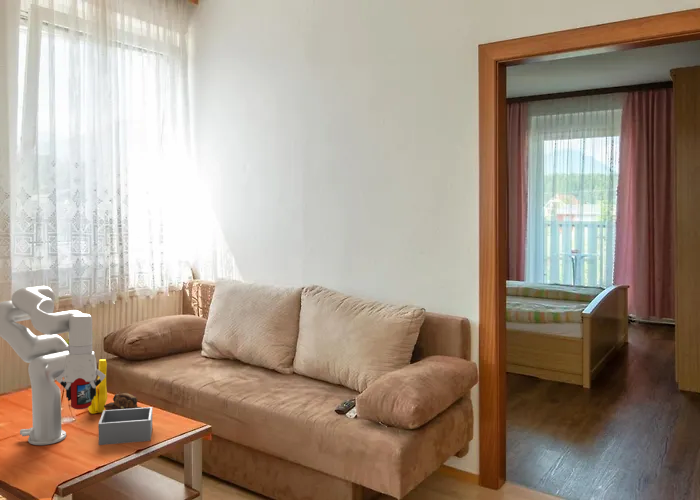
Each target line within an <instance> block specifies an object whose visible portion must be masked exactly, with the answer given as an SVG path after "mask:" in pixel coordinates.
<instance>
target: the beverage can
mask: <svg viewBox="0 0 700 500" xmlns="http://www.w3.org/2000/svg"><path fill="white" fill-rule="evenodd" d="M70 386H71V400H70V407H71V408H72V409H74V410H80V411H81V410H86V409H88V407H89V406H91V404H92V399H91V388H92V386H91V384H90V382H86V381H85V380H84V379H82V378H78V379H76V380H75V381H74V382H73V383H71V385H70Z"/></svg>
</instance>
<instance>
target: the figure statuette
mask: <svg viewBox="0 0 700 500" xmlns="http://www.w3.org/2000/svg"><path fill="white" fill-rule="evenodd" d="M107 366H108V362H107V360H106V358H105V359H99V360H98V368H97V369H98V370H99V371H101V372H102V373H103V374H105V375H106V376H105V378H104V379H103V380H102V381H101V383H100V384H99V385H97V386H96V396H94V398H93V399H92V404H91V406H89V407H88V408H87V409H88V412H89V413H90V414H98V413H101V414H102V413H103V410H105V407H104V405H106V404H107V400H108V391H107V368H108V367H107ZM99 378H100V376H98V375H97V378H96V381H97V380H98V379H99Z"/></svg>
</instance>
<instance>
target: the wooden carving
mask: <svg viewBox="0 0 700 500" xmlns="http://www.w3.org/2000/svg"><path fill="white" fill-rule="evenodd" d="M104 407H105V410H117V409H132V408H143V407H142V406H138V397H137V396H134V395H133V394H130V393H127V392H125V393H120V394H119V393H116V394H115V395H114V396H113V398H112V401H111V402H108V403H106V404H105V405H104Z"/></svg>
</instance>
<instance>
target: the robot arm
mask: <svg viewBox="0 0 700 500" xmlns="http://www.w3.org/2000/svg"><path fill="white" fill-rule="evenodd" d="M55 299H56V297H55V291H53V290H52V288H51V287H49V286H46V285H39V286H38V285H37V286H28V287H22V288H18V289H17V290H16V291H14V292H13V294H12V295H11V300H4V301H0V338H2V339H3V340H4V341H6V342H7V343H8V345H9V346H10V348H12V349H13V350H14V352H15V353H16V354H17V356H18V357H19V358H20V359H21V360H22V361H23V362H24V363H26V364H27V363H28V366H27V367H28V369H27V371H28V375H29V379H30V385H31V386H30V387H31V405H32V407H31V410H32V412H31V413H32V415H31V416H32V427H29V428H21V429H20V430H19V435H21V436H22V437H28V438H27V441H28V443H29V444H30V445H32V446H33V445H34V446H46V445H52V444H55V443H59V442H61V441H63V440H65V438H66V437H67V432H66V431H65V430H63V429H62V392H61V388H60V387H59V386H58V384H57V383H56V382H55V380H56V381H57V382H58V383H59V384H60V386H61V387H63V388H64V389H65V395H66V397H65V398H67V401H70V402H71V383H73V382H74V381H75V380H76V379H78V378H82V379H84V380H85V381H86V382H90V384H91V386H92V388H91V399H93V398H94V396H96V387H97V385H99V384H100V383H101V381H102V380H103V379H104V378H105V376H106V377H107V374H106V375H105V374H103V373H102V372H101V371H99V370H98V368H97V365H98V364H97V358H96V353H95V351H93V316H92V315H91V314H89V313H85V312H84V313H83V312H82V311H80V310H77V309H71V310H65V311H58V312H55V311H54V310H55ZM29 320H30V321H31V322H30V323H31V324H32V326H33V328H34V329H35V330H36V331H39V332H40V333H41V335H35V334H34V332H32V331H31V330H30V328H29V327H27V326H25V325H24V324H21V323H19V322H22V321H29ZM65 333H68V343H67V342H66V340H64V338H63V337H61V334H65ZM98 376H100V378H99V379H98ZM63 378H64V379H63ZM97 379H98V380H97Z"/></svg>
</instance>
